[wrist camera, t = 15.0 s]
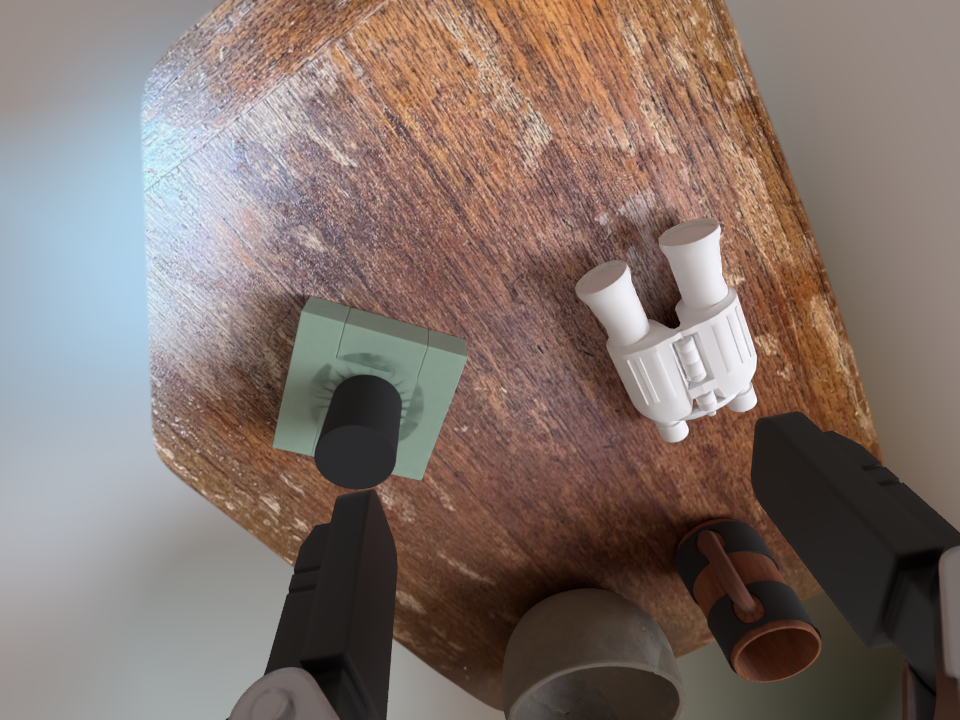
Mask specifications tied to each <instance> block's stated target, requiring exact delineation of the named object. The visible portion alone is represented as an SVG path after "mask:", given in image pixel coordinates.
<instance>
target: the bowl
mask: <svg viewBox="0 0 960 720" xmlns="http://www.w3.org/2000/svg"><path fill="white" fill-rule="evenodd" d="M502 698H503V706H504V714H505V717H506V720H679V719H680V717H681V716H682V714H683V711H684V709H685V691H684V687H683V683H682V679H681V675H680V672H679V668H678V665H677V663H676V660H675V658H674V655H673V652H672V649H671V647H670V645H669V642H668V640H667V638H666V636H665V634H664V633H663V631H662V630H661V628H660V627H659V626H658V624H657V623H656V622H655V621H654V619H653V618H652V616H651V615H650V614H649V613H648V612H646V611H645V610H643V609H642V608H641V607H639V606H638V605H637V604H635V603H634V602H632V601H630V600H628V599H626V598H624V597H623V596H621V595H619V594H617V593H614V592H610V591H607V590H602V589H596V588H583V589H574V590H570V591H565V592H561V593H558V594H555V595H552V596H550V597H548V598H546V599H544V600H543V601H541V602H539V603H537V604H536V605H534V606H533V607H532V608H531V609H529V610H528V611H527V612H526V613H525V614H524V616H523V617H522V618H521V619H520V621H519V622H518V624H517V626H516V627H515V629H514V631H513V633H512V635H511V637H510V639H509V642H508V645H507V648H506V652H505V656H504V662H503V670H502Z"/></svg>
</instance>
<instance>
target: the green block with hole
mask: <svg viewBox="0 0 960 720" xmlns="http://www.w3.org/2000/svg"><path fill="white" fill-rule="evenodd" d="M466 360H467V349H466V340H465V339H462V338H458V337H455V336H451V335H448V334H444V333H441V332H437V331H434V330H430V329H429V330H428V329H426V328H423V327H419V326H416V325H412V324H409V323H405V322H402V321H398V320H395V319H391V318H388V317H384V316H381V315H377V314H373V313H370V312H366V311H363V310H359V309H356V308H352V307H351V308H350V307H349V306H345V305H342V304H338V303H334V302H331V301H327V300H324V299H320V298H317V297H313V296H310V297H309V299H308V300H307V302H306V304H305V305H304V307H303V309H302V311H301V314H300V318H299V323H298V328H297V332H296V337H295V342H294V346H293V351H292V356H291V360H290V365H289V370H288V374H287V379H286V384H285V388H284V393H283V398H282V402H281V407H280V412H279V416H278V421H277V426H276V430H275V435H274V440H273V445H272V447H273V448H277V449H282V450H286V451H291V452H295V453H300V454H304V455H309V456H312V457H314V453H315V448H316V445H317V442H318V439H319V436H320V433H321V429H322V426H323V423H324V420H325V417H326V414H327V411H328V408H329V405H330V402H331V399H332V396H333V393H334V391H335V389H336V388H337V387H338V385H339V384H340V383H342V382H343V381H344V380H346V379H348V378H350V377H353V376H356V375H374V376H378V377H380V378H383V379H385V380H386V381H388V382H389V383H391V384H392V385H393V386H394V387H395V388H396V390H397V391H398V393H399V395H400V397H401V401H402V411H401V420H400V430H399V439H398V448H397V457H396V464H395V468H394V470H393V472H392V473H391V474H394V475H398V476H403V477H407V478H412V479H416V480H421V479H422V477H423V474H424V471H425V469H426V466H427V464H428V461H429V458H430V456H431V453H432V450H433V448H434V445H435V442H436V440H437V437H438V434H439V432H440V429H441V426H442V424H443V421H444V418H445V416H446V413H447V410H448V408H449V405H450V402H451V400H452V397H453V394H454V392H455V389H456V386H457V384H458V381H459V378H460V376H461V373H462V370H463V368H464V365H465V362H466Z"/></svg>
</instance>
